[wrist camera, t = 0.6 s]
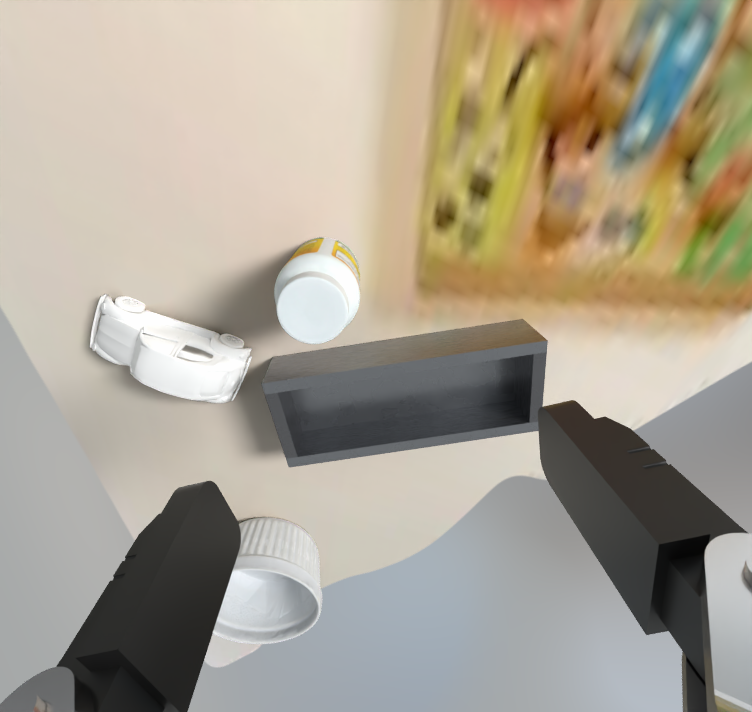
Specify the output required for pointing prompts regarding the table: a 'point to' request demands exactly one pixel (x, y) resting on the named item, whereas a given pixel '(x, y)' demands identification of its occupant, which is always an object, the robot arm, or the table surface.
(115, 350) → the car
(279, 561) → the ramekin
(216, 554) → the robot arm
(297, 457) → the open rectangular box
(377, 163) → the table surface
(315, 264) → the supplement bottle
